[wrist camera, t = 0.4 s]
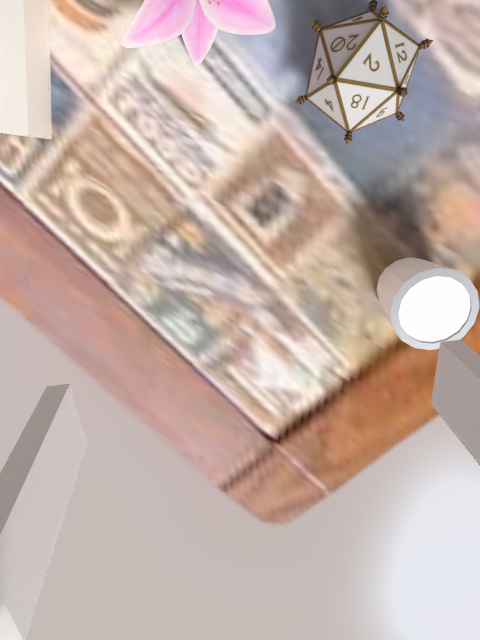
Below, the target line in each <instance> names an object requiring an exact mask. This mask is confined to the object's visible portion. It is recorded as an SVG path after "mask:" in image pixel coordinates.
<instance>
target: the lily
mask: <svg viewBox="0 0 480 640" xmlns="http://www.w3.org/2000/svg"><path fill="white" fill-rule="evenodd" d="M275 26H276V23H275V18H274V15H273V12H272V10H271V7H270V5H269V3H268V1H267V0H144V2H143V4H142V6H141V7H140V9H139V11H138V12H137V14H136V15H135V17H134V18H133V20H132V22H131V23H130V25H129V27H128V28H127V30H126V32H125V34H124V36H123V38H122V40H121V41H122V46H124V47H126V48H138V47H145V46H151V45H155V44H159V43H163V42H166V41H169V40H172V39H174V38H176V37H177V36H179V35H181V34H182V37H183V41H184V44H185V46H186V49H187V52H188V54H189V56H190V58H191V60H192V62H193V64H194V65H197V64H200V63H201V62H202V60H203V59H204V58H205V56H206V54H207V53H208V51H209V49H210V47H211V45H212V43H213V41H214V39H215V37H216V34H217V32H218V29H220V30H223V31H226V32H229V33H234V34H244V35H255V34H265V33H269V32H270V31H272V30H273V29H275Z"/></svg>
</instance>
